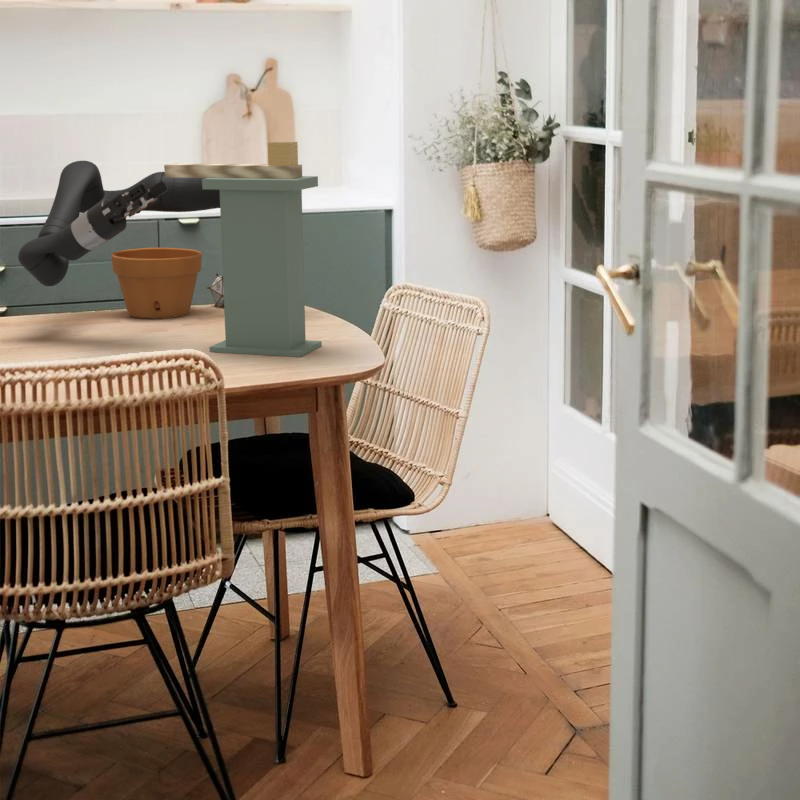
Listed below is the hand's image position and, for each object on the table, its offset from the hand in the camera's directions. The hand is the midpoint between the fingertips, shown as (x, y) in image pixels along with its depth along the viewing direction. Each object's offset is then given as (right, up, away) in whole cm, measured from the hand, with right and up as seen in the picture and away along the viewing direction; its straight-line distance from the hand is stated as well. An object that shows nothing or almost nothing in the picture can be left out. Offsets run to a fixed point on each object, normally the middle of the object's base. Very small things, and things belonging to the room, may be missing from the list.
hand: (156, 186), depth 267 cm
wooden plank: (+16, +1, -5) cm, 17 cm away
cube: (+27, +3, -9) cm, 28 cm away
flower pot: (-7, -24, +45) cm, 51 cm away
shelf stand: (+22, -33, +2) cm, 40 cm away
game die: (+7, -21, +55) cm, 60 cm away
